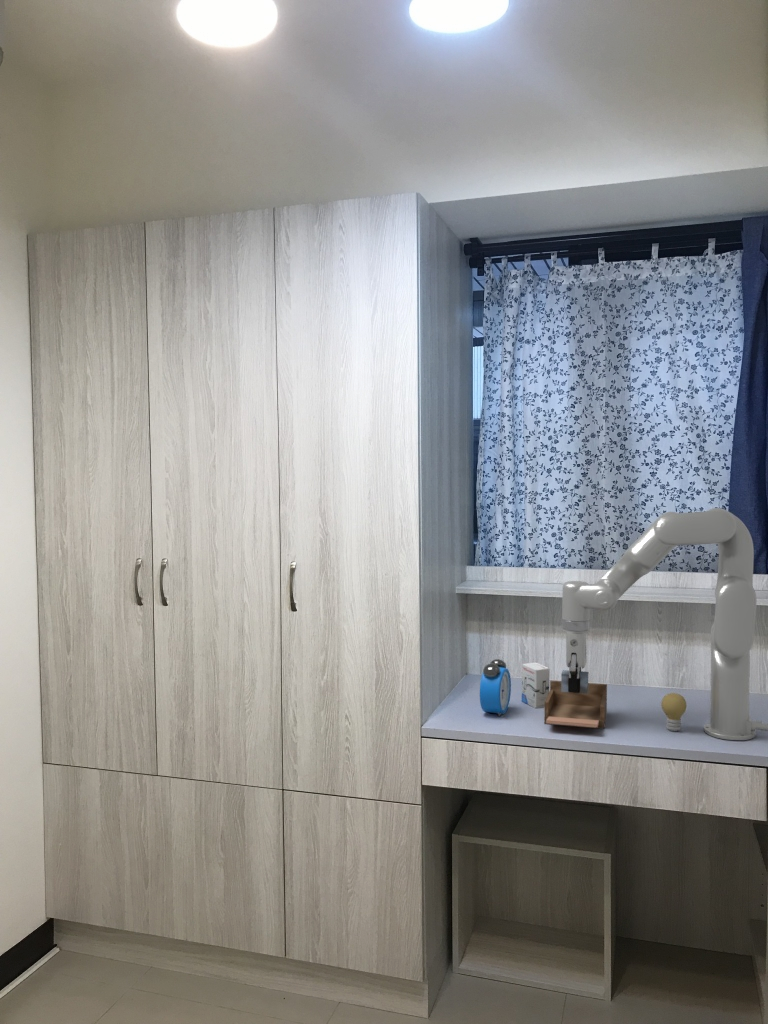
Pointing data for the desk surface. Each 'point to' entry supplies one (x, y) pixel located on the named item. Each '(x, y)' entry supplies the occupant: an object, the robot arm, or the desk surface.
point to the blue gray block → (583, 681)
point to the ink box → (535, 684)
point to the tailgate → (572, 721)
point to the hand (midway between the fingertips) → (574, 689)
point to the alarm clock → (495, 687)
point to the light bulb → (673, 710)
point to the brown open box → (577, 703)
